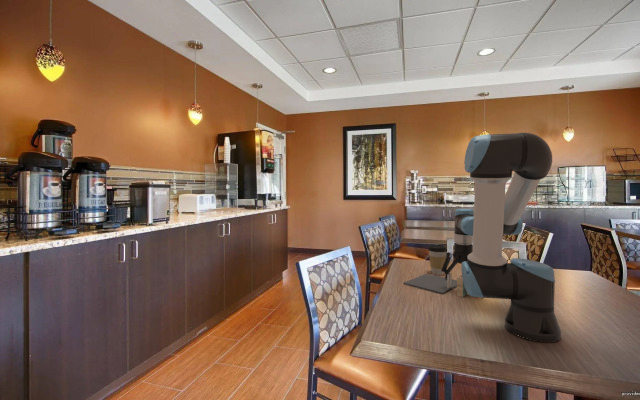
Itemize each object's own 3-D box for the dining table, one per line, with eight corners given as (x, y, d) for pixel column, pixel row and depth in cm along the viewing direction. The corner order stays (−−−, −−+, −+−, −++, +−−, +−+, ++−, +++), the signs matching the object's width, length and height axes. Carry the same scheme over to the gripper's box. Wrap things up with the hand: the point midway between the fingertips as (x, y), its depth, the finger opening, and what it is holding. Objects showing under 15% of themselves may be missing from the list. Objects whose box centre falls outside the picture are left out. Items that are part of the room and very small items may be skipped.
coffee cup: (448, 272, 166) (448, 246, 166) (445, 277, 158) (445, 249, 158) (430, 270, 172) (430, 244, 171) (426, 274, 163) (426, 247, 163)
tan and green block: (463, 296, 130) (463, 278, 129) (456, 295, 132) (456, 277, 131) (471, 291, 136) (471, 274, 135) (465, 290, 138) (465, 273, 137)
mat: (442, 294, 133) (442, 292, 133) (403, 284, 148) (403, 282, 148) (463, 283, 148) (463, 281, 148) (426, 275, 162) (426, 273, 162)
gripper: (495, 246, 127) (493, 296, 128) (441, 238, 144) (440, 282, 146) (488, 248, 122) (487, 300, 123) (434, 240, 139) (433, 286, 141)
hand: (462, 290), depth 135 cm, fingers open, 11 cm apart
